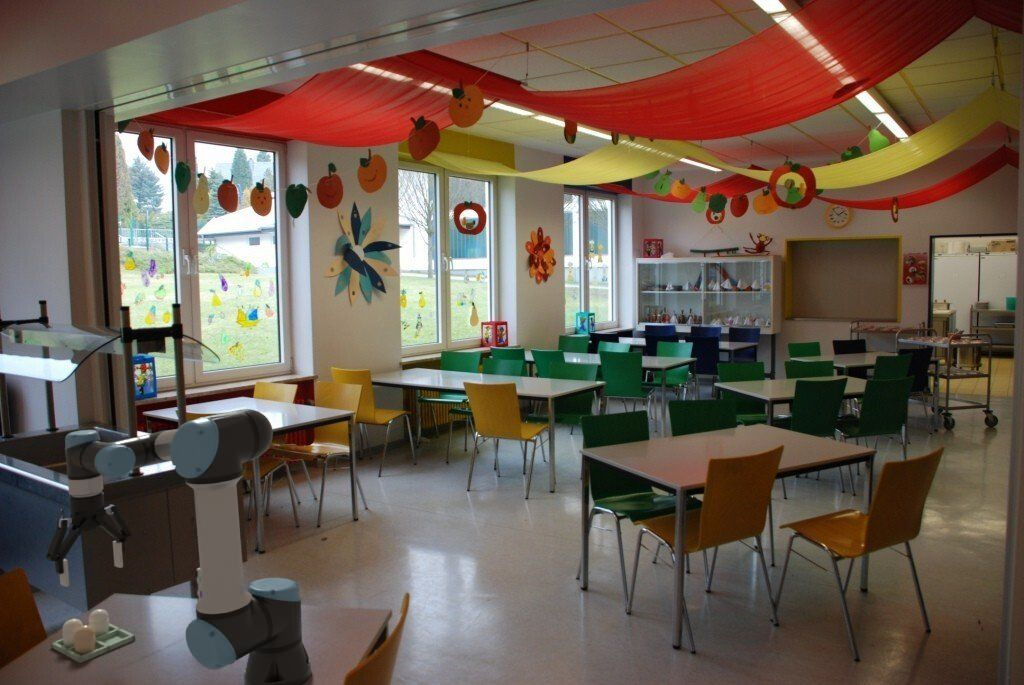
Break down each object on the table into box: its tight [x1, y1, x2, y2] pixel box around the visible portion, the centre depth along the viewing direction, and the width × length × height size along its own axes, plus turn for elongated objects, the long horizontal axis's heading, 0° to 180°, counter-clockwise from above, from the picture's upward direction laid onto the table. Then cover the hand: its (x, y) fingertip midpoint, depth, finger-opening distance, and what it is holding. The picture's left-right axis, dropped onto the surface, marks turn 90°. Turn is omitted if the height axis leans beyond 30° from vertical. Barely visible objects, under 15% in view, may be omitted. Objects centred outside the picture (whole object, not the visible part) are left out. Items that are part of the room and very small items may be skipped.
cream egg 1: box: [61, 618, 84, 649], centre depth 198 cm, size 5×5×7 cm
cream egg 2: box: [88, 608, 110, 637], centre depth 204 cm, size 5×5×7 cm
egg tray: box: [50, 622, 136, 664], centre depth 199 cm, size 14×14×2 cm
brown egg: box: [74, 624, 96, 656], centre depth 194 cm, size 5×5×7 cm
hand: (92, 575), depth 195 cm, fingers open, 13 cm apart
